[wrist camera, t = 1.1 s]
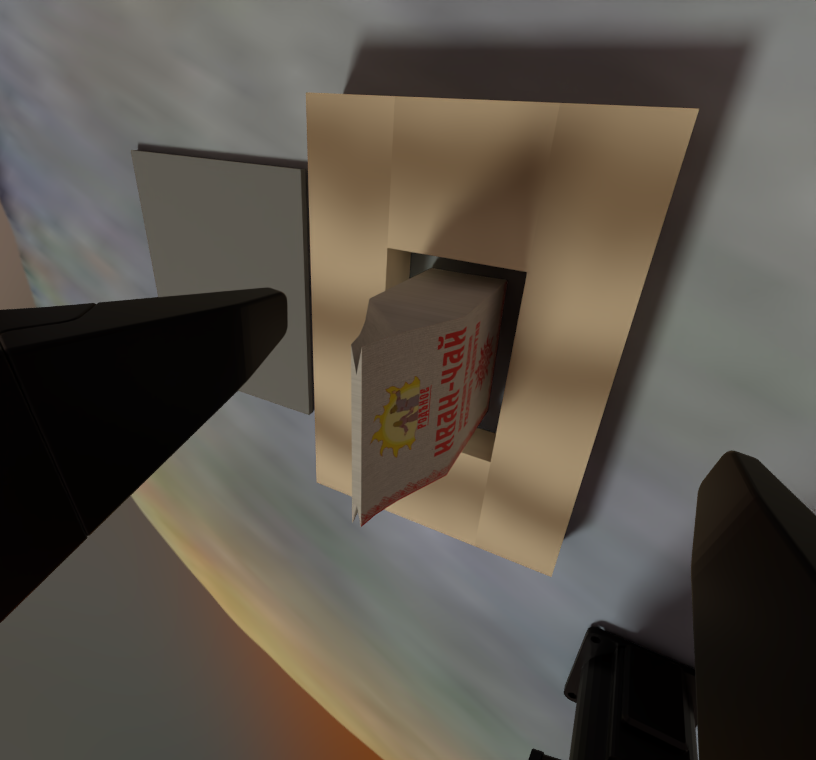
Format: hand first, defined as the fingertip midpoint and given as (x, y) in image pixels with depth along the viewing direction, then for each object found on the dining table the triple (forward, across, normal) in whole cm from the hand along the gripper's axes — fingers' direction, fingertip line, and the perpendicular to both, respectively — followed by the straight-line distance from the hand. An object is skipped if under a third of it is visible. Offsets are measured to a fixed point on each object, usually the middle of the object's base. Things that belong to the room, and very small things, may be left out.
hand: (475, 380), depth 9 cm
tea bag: (+12, +3, +6) cm, 14 cm away
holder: (+12, +3, +6) cm, 13 cm away
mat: (+12, +18, +8) cm, 23 cm away
